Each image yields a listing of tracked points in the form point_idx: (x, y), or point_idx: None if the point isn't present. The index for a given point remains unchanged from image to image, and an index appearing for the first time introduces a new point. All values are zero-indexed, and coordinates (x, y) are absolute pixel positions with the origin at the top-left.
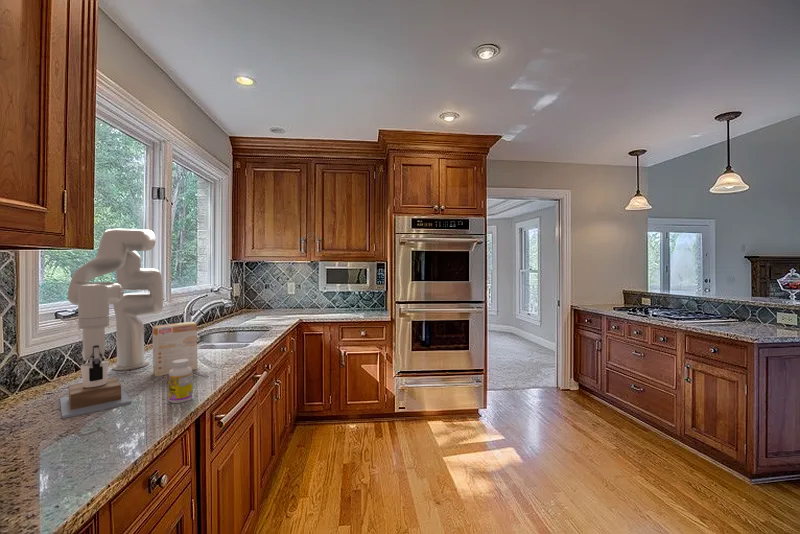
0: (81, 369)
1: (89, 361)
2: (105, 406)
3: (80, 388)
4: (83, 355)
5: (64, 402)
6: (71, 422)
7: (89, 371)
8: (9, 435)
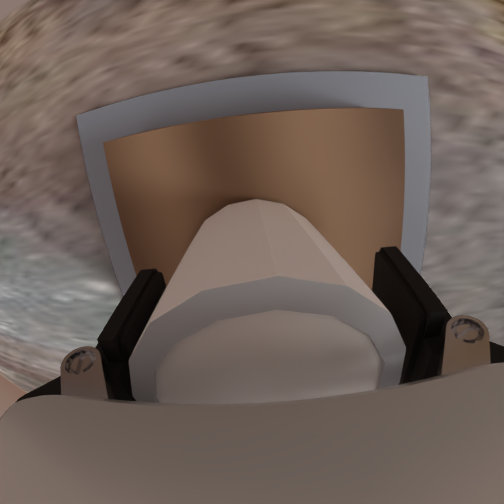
0: (233, 258)
1: (441, 344)
2: (114, 264)
3: (235, 181)
4: (87, 466)
5: (321, 87)
6: (32, 161)
7: (109, 320)
8: (30, 5)
